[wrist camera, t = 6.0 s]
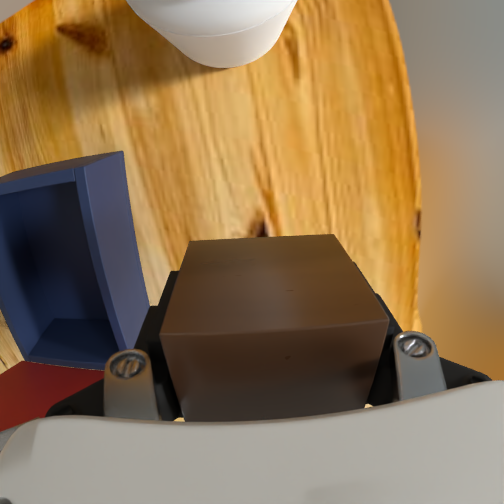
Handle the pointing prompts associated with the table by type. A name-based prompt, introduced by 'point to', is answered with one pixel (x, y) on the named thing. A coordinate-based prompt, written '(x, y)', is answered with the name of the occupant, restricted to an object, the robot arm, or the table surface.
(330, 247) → the block
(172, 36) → the pill bottle
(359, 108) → the table surface
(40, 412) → the lunchbox lid
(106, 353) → the box
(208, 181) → the table surface
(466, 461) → the robot arm
